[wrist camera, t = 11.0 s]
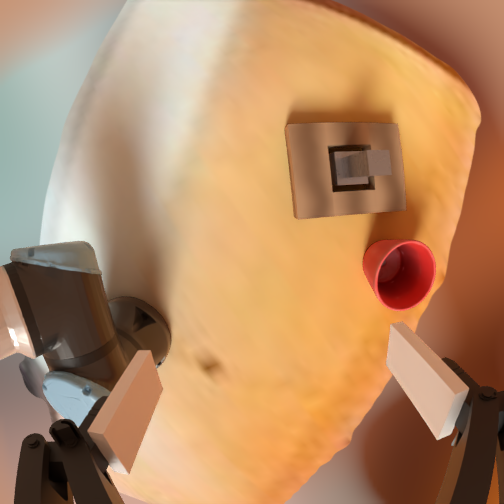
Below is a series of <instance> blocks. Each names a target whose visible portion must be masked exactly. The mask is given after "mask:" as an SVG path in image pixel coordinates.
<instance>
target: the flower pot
mask: <svg viewBox="0 0 504 504" xmlns="http://www.w3.org/2000/svg"><path fill="white" fill-rule="evenodd" d="M363 271H364V273H365V275H366V278H367V280H368V282H369V283H370V285H371V287H372V289H373V291H374V293H375V295H376V296H377V298H378V300H379V301H380V302H381V303H382V304H383V305H384V306H385V307H387V308H389V309H391V310H395V311H404V310H408V309H411V308H413V307H415V306H416V305H418V304H419V303H420V302H422V301H423V299H424V298H425V297H426V296H427V295H428V293H429V292H430V290H431V288H432V286H433V283H434V280H435V275H436V263H435V259H434V256H433V254H432V252H431V250H430V249H429V248H428V247H427V246H426V245H425V244H424V243H422V242H420V241H416V240H380V241H377V242H375V243H374V244H372V245H371V246H370V247H369V248H368V250H367V251H366V253H365V255H364V258H363Z"/></svg>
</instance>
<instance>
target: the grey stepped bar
mask: <svg viewBox="0 0 504 504" xmlns="http://www.w3.org/2000/svg"><path fill="white" fill-rule="evenodd" d="M329 162H330V171H331V181H332V186H335V185H353V184H368V177H372V176H384V175H392V171H391V162H390V153H389V150H365V151H345V152H333V153H330V154H329Z"/></svg>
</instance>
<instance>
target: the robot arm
mask: <svg viewBox="0 0 504 504" xmlns="http://www.w3.org/2000/svg"><path fill="white" fill-rule="evenodd" d="M10 259H11V261H12V262H11V263H9V264H6V265H3V266H1V267H0V360H1V359H3V358H5V357H8V356H10V355H12V354H14V353H22V354H24V355H26V356H28V357H30V358H32V359H34V358H36V357H38V356H40V355H42V354H43V357H44V359H45V361H46V364H47V366H48V368H49V372H48V373H47V374H46V375H45V377H44V380H43V385H42V387H43V392H44V394H45V396H46V398H47V400H48V402H49V403H50V404H51V406H52V407H53V408H54V409H55V410H56V411H57V412H58V413H59V414H60V415H61V416H62V417H64V418H65V419H60V420H58V421H56V422H55V423H53V424H52V425H51V427H50V429H49V433H50V434H51V436H52V437H53V439H54V440H55V442H46V440H45V438H44V437H43V436H42V435H40V434H36V433H34V434H30V435H28V436H27V437H26V438H25V439H24V440H23V442H22V447H21V452H20V458H19V464H18V470H17V478H16V487H15V497H14V504H74V502H73V496H74V499H75V502H76V504H124V502H123V500H122V498H121V496H120V495H119V493H118V491H117V489H116V487H115V485H114V483H113V481H112V479H111V477H110V475H109V473H108V472H107V471H106V469H107V467H108V465H110V467H111V468H112V470H113V471H114V472H118V473H123V474H128V475H129V474H130V471H131V468H132V466H133V463H134V460H135V458H136V455H137V453H138V450H139V448H140V445H141V442H142V440H143V437H144V435H145V432H146V430H147V427H148V425H149V422H150V420H151V417H152V415H153V412H154V410H155V407H156V405H157V402H158V400H159V398H160V395H161V393H162V390H163V388H162V385H161V382H160V379H159V376H158V373H157V370H156V369H157V368H158V367H159V366H160V365H161V364H162V363H163V362H164V360H165V359H166V357H167V355H168V352H169V350H170V345H171V338H170V332H169V329H168V327H167V324H166V323H165V321H164V319H163V318H162V316H161V315H160V314H159V313H158V312H157V311H156V310H155V309H154V308H153V307H152V306H150V305H149V304H147V303H145V302H144V301H141V300H139V299H136V298H132V297H118V298H115V299H112V300H111V301H109V302H108V301H107V297H106V293H105V289H104V285H103V281H102V277H101V275H102V272H101V271H100V270H99V267H98V263H97V260H96V256H95V252H94V249H93V247H92V246H91V245H90V244H89V243H87V242H85V241H74V242H65V243H56V244H48V245H40V246H33V247H26V248H19V249H13V250H12V251H11V256H10ZM386 365H387V367H388V368H389V370H390V371H391V373H392V374H393V375H394V377H395V378H396V380H397V381H398V382H399V384H400V385H401V387H402V388H403V389H404V391H405V393H406V394H407V395H408V397H409V398H410V400H411V401H412V403H413V404H414V406H415V407H416V409H417V410H418V412H419V413H420V414H421V416H422V418H423V419H424V421H425V422H426V424H427V425H428V426H429V428H430V430H431V431H432V433H433V434H434V436H435V437H436V439H437V440H438V439H441V438H443V437H445V436H447V435H450V434H451V432H452V430H453V428H454V426H456V427H457V428H458V432H457V435H456V437H455V439H454V441H453V443H452V446H453V445H454V446H453V451H452V454H451V458H450V461H449V465H448V468H447V472H446V475H445V478H444V481H443V484H442V486H441V489H440V492H439V495H438V498H437V500H436V503H435V504H486V502H487V498H488V494H489V490H490V485H491V480H492V474H493V468H494V462H495V455H496V461H497V471H498V484H499V504H504V391H501V392H497V391H496V390H495V389H494V388H492V387H488V386H482V387H480V386H479V385H478V384H477V383H476V382H475V381H474V380H473V379H472V378H471V377H470V376H469V375H468V374H467V373H466V372H464V370H463V369H462V368H460V366H458V364H457V363H455V361H453V360H451V359H449V358H446V357H445V358H442V359H440V358H439V357H438V356H437V355H436V354H435V353H434V352H433V351H432V350H431V349H430V348H429V347H428V346H427V345H426V344H425V343H424V342H423V341H422V340H421V339H420V338H419V337H418V336H417V335H416V334H415V333H414V332H413V331H412V330H411V329H410V328H409V327H408V326H407V325H405V324H404V323H403V322H398V323H393V324H391V325H390V336H389V345H388V353H387V361H386ZM77 426H78V427H79V428H78V427H77Z"/></svg>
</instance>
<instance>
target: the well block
mask: <svg viewBox="0 0 504 504" xmlns="http://www.w3.org/2000/svg"><path fill="white" fill-rule="evenodd" d="M285 137H286V146H287V154H288V163H289V172H290V181H291V191H292V201H293V211H294V217H295V218H296V219H308V218H319V217H330V216H342V215H353V214H366V213H378V212H392V211H406V193H405V180H404V169H403V159H402V150H401V143H400V135H399V129H398V124H391V123H363V122H327V123H299V124H287V126H286V128H285ZM330 148H362V151H365V150H389V153H390V162H391V171H392V175H384V176H372V177H368V184H365V187H366V190H349V191H334V192H332V181H331V171H330V162H329V153H328V149H330Z"/></svg>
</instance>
